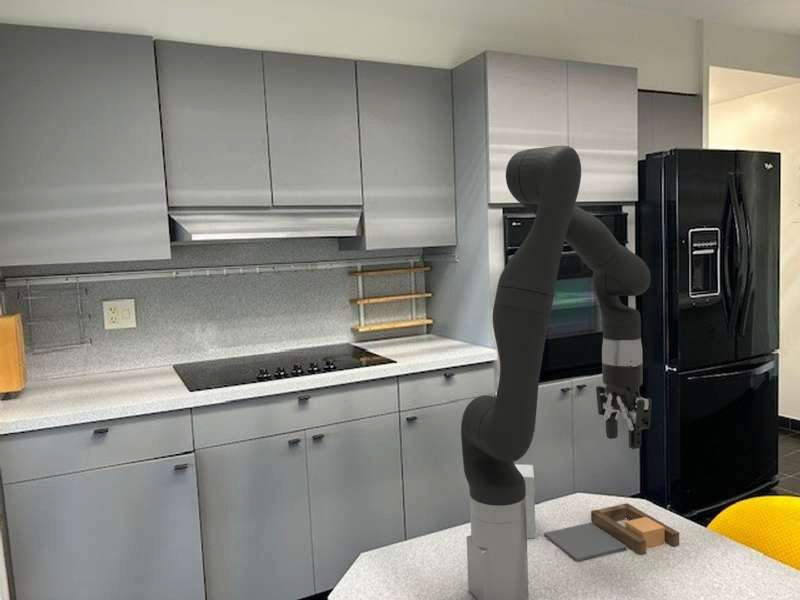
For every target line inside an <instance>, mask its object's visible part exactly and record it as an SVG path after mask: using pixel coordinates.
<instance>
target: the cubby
mask: <svg viewBox="0 0 800 600" xmlns="http://www.w3.org/2000/svg"><path fill="white" fill-rule="evenodd" d="M643 517H647V518H649V519H651V520H653V521H654V522H656V523H658V524H659V525H661V526H663V527H665V543H666V544H668V545H670V546H671V547H672V548H673V547H677V546H680V532H679V531H677V530H675V529H673V527H670V526H669V525H666V524H665V523H664V522H662V521H659V520H658V519H656V518H655V517H653V516H651V515H649V514H647V513H646V512H645V511H642V510H640V509H638V508H637V507H635V506H634V505H632V504H629V503H628V502H627V503H623V504H618V505H614V506H607V507H603V508H598V509H594V510H591V511H590V523H591V522H592V523H593V525H595V526H596V527H598V528H599V529H602V531H604V532H605V533H607V534H608V535H610V536H611V537H613V538H614V539H616V540H617V541H619V542H620V543H622V544H623V545H625V546H626V547H627V549H630V550H632V551H633V552H634V553H636V554H638V555H639V556H641V555H645V554H647V549H646V540H645V539H643V538H641V537H640V536H638V535H637V534H635V533H633V532H632V531H630V530H629V529H627V528H625V525H622V524H621V523H619V522H618V521H617V520H619V521H622V519H623V520H628V519H629V520H634V519H638V518H643ZM625 518H627V519H625ZM629 520H628V521H629Z"/></svg>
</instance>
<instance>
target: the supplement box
mask: <svg viewBox="0 0 800 600" xmlns="http://www.w3.org/2000/svg"><path fill="white" fill-rule="evenodd" d="M514 464H515V463H514ZM515 466H516V468H517V469H518V470H519V472H520V473H521V474H522V476H523V477H524V480H525V485H526V519H527V539H535V538H536V504H535V503H536V501H535V500H536V495H535V494H536V493H535V472H534V465H533V464H518V463H517V464H515Z"/></svg>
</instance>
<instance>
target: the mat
mask: <svg viewBox="0 0 800 600" xmlns="http://www.w3.org/2000/svg"><path fill="white" fill-rule="evenodd" d="M543 537H545V538H546V537H547V538H548V539H547V538H546V539H547V540H549V541H550V542H551V543H552V542H553V543H552V544H553V545H555V546H556V547H558V549H560V550H561V551H562V552H564V554H566V553H567V554H568V555H567V556H569V557H570V558H571V559H572V558H573V560H574V561H575V562H576V561H579V562H581V561H580V560H583V561H585V560H584V559H587V560H590V559H589V558H591V559H595V558H598V557H603V556H608V555H612V554H615V553H618V552H624V551H627V549H628V547H627V546H625V545H624V544H622V543H621V542H619V541H618V540H616V539H615V538H613V537H612V536H610V535H609V534H607V533H606V532H604V531H603V530H601V529H600V528H598V527H597V526H595V525H594V524H592V523H591V522H588V523H587V522H586V523H583V524H578V525H573V526H571V527H570V526H569V527H564V528H561V529H557V530H551V531H547V532H544V533H543ZM594 557H595V558H594Z"/></svg>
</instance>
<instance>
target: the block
mask: <svg viewBox="0 0 800 600" xmlns="http://www.w3.org/2000/svg"><path fill="white" fill-rule="evenodd" d="M624 527H625V528H627V529H629V530H630V531H632V532H633V533H635V534H637V535H638V536H640V537H641V538H643V539H645V540H646V550H647V549H650V548H655V547H658V546H662V545H665V543H666V542H665V527H663V526H661V525H659V524H658V523H656V522H654V521H653V520H651V519H649V518H647V517H643V518H638V519H634V520H630V521H629V520H626V521H625V522H624Z"/></svg>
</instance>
